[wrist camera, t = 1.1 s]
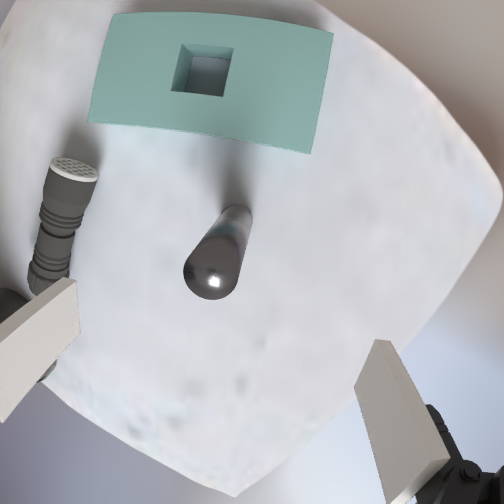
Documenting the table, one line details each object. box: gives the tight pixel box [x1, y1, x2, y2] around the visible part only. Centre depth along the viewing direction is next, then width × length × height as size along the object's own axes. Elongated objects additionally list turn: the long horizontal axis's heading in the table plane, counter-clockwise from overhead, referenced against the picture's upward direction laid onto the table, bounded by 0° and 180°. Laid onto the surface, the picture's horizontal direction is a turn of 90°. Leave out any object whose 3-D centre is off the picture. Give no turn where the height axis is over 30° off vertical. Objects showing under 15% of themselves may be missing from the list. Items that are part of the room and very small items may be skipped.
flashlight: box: [27, 158, 99, 296], centre depth 29 cm, size 15×5×5 cm, turn 153°
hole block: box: [87, 12, 334, 154], centre depth 24 cm, size 20×11×4 cm, turn 79°
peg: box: [183, 205, 252, 300], centre depth 24 cm, size 3×3×14 cm
